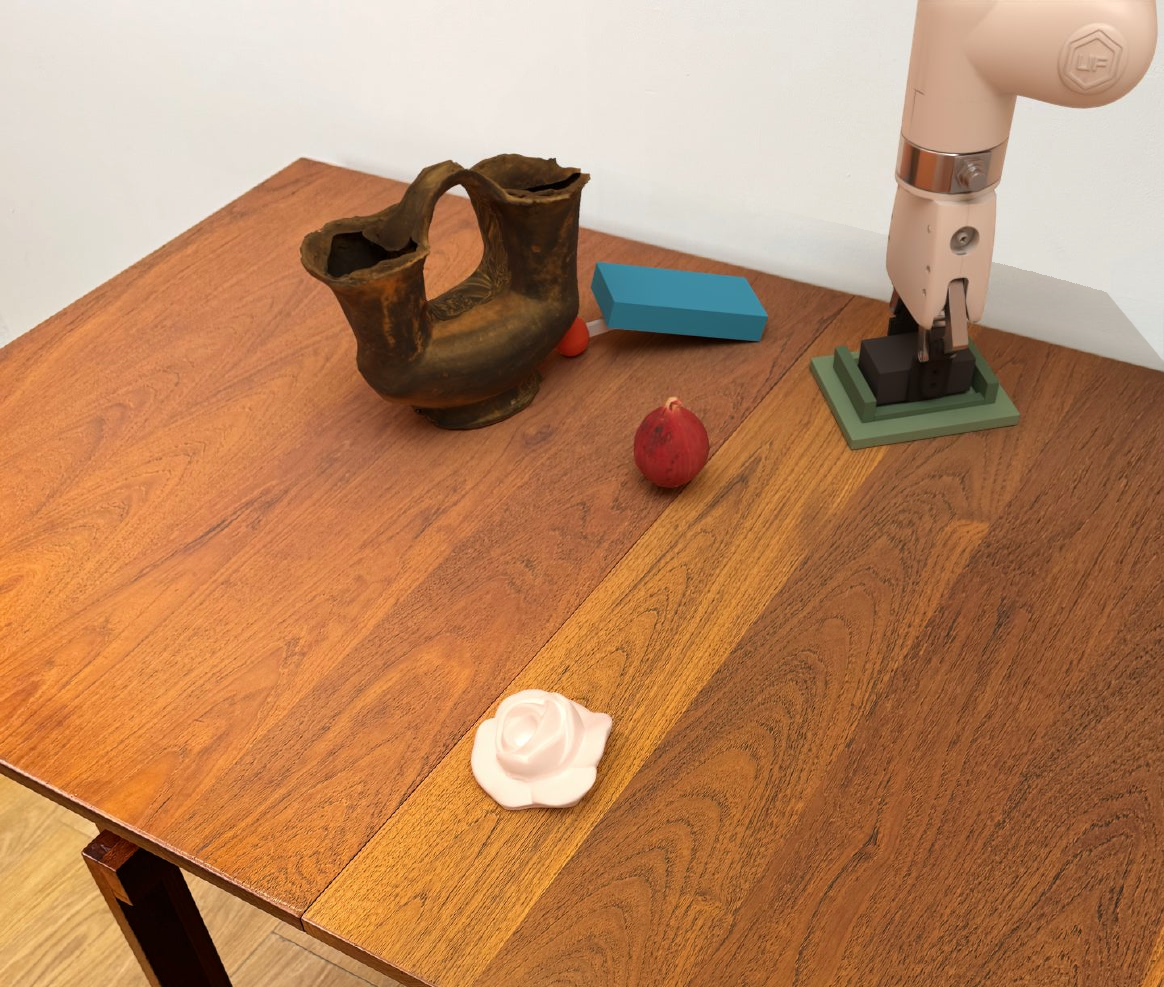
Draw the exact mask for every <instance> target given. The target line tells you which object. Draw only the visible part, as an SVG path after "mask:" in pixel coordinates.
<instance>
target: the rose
mask: <svg viewBox="0 0 1164 987" xmlns="http://www.w3.org/2000/svg"><path fill="white" fill-rule="evenodd" d="M612 729H613V719H612V717H611V716H610V714H608V713H606V712H592V711H591V710H589V709H588V708H586V707H585V706H583V705H582V704H580V703H578V702H577V701H574V700H572V699H570V698H567V697H566V696H564V695H563V694H561V693H559V692H555V691H552V692H549V691H546V690H543V689H538V688H528V689H523V690H520V691H518V692H516V693H513V694H511V695H509V696H507V697H506V698H504V699H503V700H502V701H501V703H499V705H498V706H497V709H496V712H495V714H494V717H492V718H488V719H485V720H484V721H482V722H481V723H480V724H479V726H478V728H477V729H476V733H475V737H474V742H473V746H472V750H471V754H470V765H471V771H472V774H473V776H474V778H475V780H476V782H477V784H478V785H479V786H480V787H481V789H483V791H484V792H485V793H486V794H488V796H490V797H491V799H492V800H493V801H495V802H496V803H497V804H498V805H500V806H501V807H502V808H503V809H504V810H507V811H521V810H527V809H531V808H554V809H555V808H557V809H558V808H559V809H561V808H562V809H563V808H564V809H565V808H571V807H574V806H577V805H578V804H579V803H580V801H581V800H582V799H583V798H584V797H585V795H587V794H588V792H589V791H590V790H591V788H592V787H593V786H594V784H595V782H596V780H597V774H598V771H597V767H598V766H599V763H600V761H601V760H602V758H603V755H604V753H605V752H604V751H605V748H606V744H607V741H608V739H609V737H610V735H611V732H612Z"/></svg>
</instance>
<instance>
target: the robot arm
mask: <svg viewBox="0 0 1164 987" xmlns="http://www.w3.org/2000/svg"><path fill="white" fill-rule="evenodd" d="M914 18H915V19H914V26H913V34H912V43H911V47H910V48H911V49H910V57H909V64H908V70H907V77H906V78H907V79H906V86H905V94H904V101H903V102H904V103H903V108H902V117H901V126H900V132H899V140H898V146H897V154H896V163H895V168H894V179H895V182H896V183H897V186H896V191H895V196H894V201H893V205H892V212H891V216H890V222H889V228H888V234H887V235H888V236H887V243H886V253H885V254H886V255H885V269H886V273H887V276H888V278H889V280H890V283H891V285H892V289H893V290H892V293H891V297H890V300H889V303H888V304H889V306H888V307H889V313H890V315H891V316H890V317H889V318H888V326H887V333H886V336H891V335H898V334H905V333H912V332H918V331H919V337H918V355H915V356H912V362H911V368H910V375H909V381H908V387H907V393H906V397H907V399H908V401H909V402H917V401H923V400H930V399H936V398H942V397H944V396H945V395H946V392H947V387H948V382H949V376H950V371H951V366H952V361H953V358H955V357H956V354H957V352H958V351H961V350H964V349H967V347H968V335H969V333H968V331H969V330H968V322H969V323H971V324H976V323H979V322H980V321H981V320H982V318H983V315H984V312H985V311H984V310H985V306H986V301H987V295H988V289H989V282H990V276H991V270H992V269H991V268H992V263H993V262H992V261H993V254H994V247H995V246H994V245H995V238H996V223H997V193H996V189H997V188H998V186H999V185H1000V183H1001V181H1002V176H1003V171H1004V164H1005V160H1006V155H1007V150H1008V144H1009V139H1010V134H1011V129H1012V124H1013V120H1014V114H1015V110H1016V104H1017V98H1018V97H1023V98H1027V99H1031V100H1036V101H1039V102H1042V103H1043V102H1044V103H1047V104H1051V105H1054V106H1059V107H1064V108H1069V109H1070V108H1071V109H1082V110H1083V109H1085V110H1086V109H1095V108H1101V107H1105V106H1108V105H1110V104H1113V103H1115V102H1117V101H1119V100H1121V99H1122V98H1123V97H1125V96H1126V95H1128V94H1129V93H1130V92H1132V91H1133V90H1134V89H1135V88H1136V87H1137V86H1138V85H1139V84H1140V83H1141V81H1142V80H1143V79H1144V77H1145V75H1146V74H1147V72H1148V70H1149V68H1150V67H1151V64H1152V62H1153V60H1154V56H1155V53H1156V49H1157V44H1158V37H1159V36H1158V34H1159V33H1158V30H1159V29H1158V12H1157V0H917V4H916V11H915V17H914ZM941 312H943V313H944V315H940V314H941ZM967 320H968V321H967ZM945 327H946V333H945V336H944V337H943V338H939V339H935V340H934V341H933V342H931V343H930V338H931V329H938V328H945Z"/></svg>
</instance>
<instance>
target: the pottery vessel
mask: <svg viewBox="0 0 1164 987" xmlns="http://www.w3.org/2000/svg"><path fill="white" fill-rule="evenodd" d="M581 171H582V168H579V167H573V166H567V167H563V166H561V165H560V164H558V162H557V157H549V158H548V159H545V158H542V157H534V156H524V155H522V154H519V153H500V154H497V155H495V156H491V157H488V158H484V159H482V160H480V161H478V162H477V163H475V164H473V165H472V166H471V167H469V168H465V167H464V166H462V165H461V164H460V163H458V161H456V162H454V161H453V159H448V160H447V159H446V160H444V161H441V162H438V163H435V164H432V165H429V166H425V167H424V168H422V170H421V171H420V172H419V173H418V174H417V176H416V178H415V179H414V180H413V181H412V182H411V184H409V185H408V187H407V189H406V190H405V192H404V194H403V195H402V198H401V199H400V201H399V202H397V203H393V204H391V205H389V206H387V207H386V208H384V209H382V210H380V211H377V212H376V213H372V214H370V215H364V216H361V215H360V216H359V215H354V216H352V217H342V218H339V219H334V220H331V221H329V222H326V223H324V225H322V227H321V228H319V229H316V230H314V231H310V232H309V233H307V234H306V235H305V236H303V240H302V243H301V245H300V247H299V252H300V255H301V257H300V263H301V265H302V267H303V268H304V270H305V271H306V272H307V273H308V274H309V275H310V276H311V277H313V278H314V279H316V280H318V281H319V282H321V283H322V284H325V285H326V286H327V287H328V288H329V289H330V290H331V291H332V293H333V295H334V296H335V298H336V300H337V301H338V304H339V306H340V308H341V310H342V312H343V314H344V316H345V319H346V321H347V323H348V324H349V326H350V328H351V330H352V332H353V335H354V338H355V341H356V357H355V358H356V360H355V361H356V367H357V370H358V372H359V374H360V375H361V377H362V378H363V379H364V381H365V382H366V384H367V385H368V386H369V388H371V389H372V390H373V391H374V392H375V393H377V395H378V396H380V398H382V399H383V400H385V401H386V402H389V403H391V404H395V405H396V404H397V405H401V406H402V405H403V406H409V407H410V409H412V410H413V412H414V413H415V415H417V416H419V417H421V418H423V419H425V418H427V419H428V420H429V422H434V424H435V425H436V426H437V427H440V428H443V429H449V430H450V429H465V430H470V429H477V428H482V427H487V426H489V425H492V424H496V423H499V422H502V421H504V420H506V419H508V418H510V417H512V416H513V415H515V414H517V413H519V412H521V411H523V410H524V409H526V407H527V406H529V405H530V404H531V403H532V402H533V400H534V399H535V397H536V394H537V393H538V392H539V391H540V387H541V382H542V378H543V376H542V375H541V373H540V372H539V370H537V369H538V368H539V367H540V366H541V365H542V364H543V362H544V361H545V360H546V359H547V358H548V356H549V355H550V354H551V353H552V352H553V351H554V350H556V348H555V347H556V346H557V345H558V344H559V343H560V341H561V339H562V338H563V337H564V335H565V334H566V332H567V331H568V330H569V329H570V328H571V326H572V324H573V323H574V321H575V319H576V317H578V315H579V314H580V313H579V312H580V292H579V291H580V290H579V281H578V244H579V232H580V214H581V213H580V211H581V201H582V191H583V189H584V188H585V187H586V185H587V184H588V183H589V181H590V180H591V174H590V173H589V172H588V173H585V172H581ZM459 185H460V186H461V187H462V188H463V189H464V190H465V192H466V194H467V195H468V197H469V200H470V204H471V206H472V209H473V211H474V214H475V216H476V220H477V224H478V229H479V232H480V237H481V240H482V244H483V251H482V256H481V260H480V261H479V264H478V265H477V267H476V269H475V270H474V271H472V273H471V274H470V275H469V276H468V277H466V278H465V279H464V280H462V281H461V282H459V283H458V284H455V286H452V287H451V288H450V289H448V290H446V291H445V292H443V293H441V294H439V295H438V296H436V297H433V298H430V299H429V300H428V299H427V292H426V283H425V275H424V270H425V264H426V260H427V257H428V256H430V255H431V250H430V249H431V248H432V247H431V244H430V242H429V234H430V227H431V224H432V221H433V218H434V212H435V208H436V206H437V203H438V201H439V200H440V198H441V197H442V196H443V195H445V194H446V193H447V192H448V191H449V190H451V189H452V188H454V187H457V186H459Z"/></svg>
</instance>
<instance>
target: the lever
mask: <svg viewBox="0 0 1164 987" xmlns="http://www.w3.org/2000/svg"><path fill="white" fill-rule="evenodd" d="M590 290H591V293H592V295H593V297H594V299H595V301H596V303H597V306H598V308H599V310H600V314H601V315H602V317H601V318H598V319H596V320H592V321H589V322H585V321H584V319H582V318H580V317H579V316H577V317H576V319H575V321H574V323H573V324H572V326H571V328H570V329H569V330H568V331H567V332H566V334H565V335H564V337H563V338H562V339H561V341H560V343H559V344H558V345H557V346H556V347H555V350H556V351H557V352H558V353H559V354H561V355H563V356H566V357H576V356H578V355H580V354H582V353H583V352H585V350H586V349H587V347H588V345H589V342H590V339H591V337H595V336H598V335H602V334H604V333H607V332H610V331H614V330H626V331H636V332H638V331H639V332H649V333H650V332H651V333H661V334H669V335H670V334H671V335H684V336H695V337H703V338H704V337H707V338H716V339H717V338H718V339H728V340H739V341H740V340H741V341H752V342H760V341H761V338H762V336H763V333H764V331H765V327H766V324H767V322H768V318H769V314H768V313H767V311H766V309H765V308H764V307H763V305H762V303H761V301H760V299H759V298H758V296H757V295H756V293H755V291H754V289H753V288H752V286H751V285H750V283H749V281H748V280H747V278H746V277H745V276H735V275H725V274H718V273H716V274H715V273H709V272H707V273H706V272H698V271H688V270H679V269H669V268H661V267H650V266H640V265H631V264H621V263H613V262H602V261H596V263H595V267H594V270H593V274H592V279H591V284H590Z"/></svg>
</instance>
